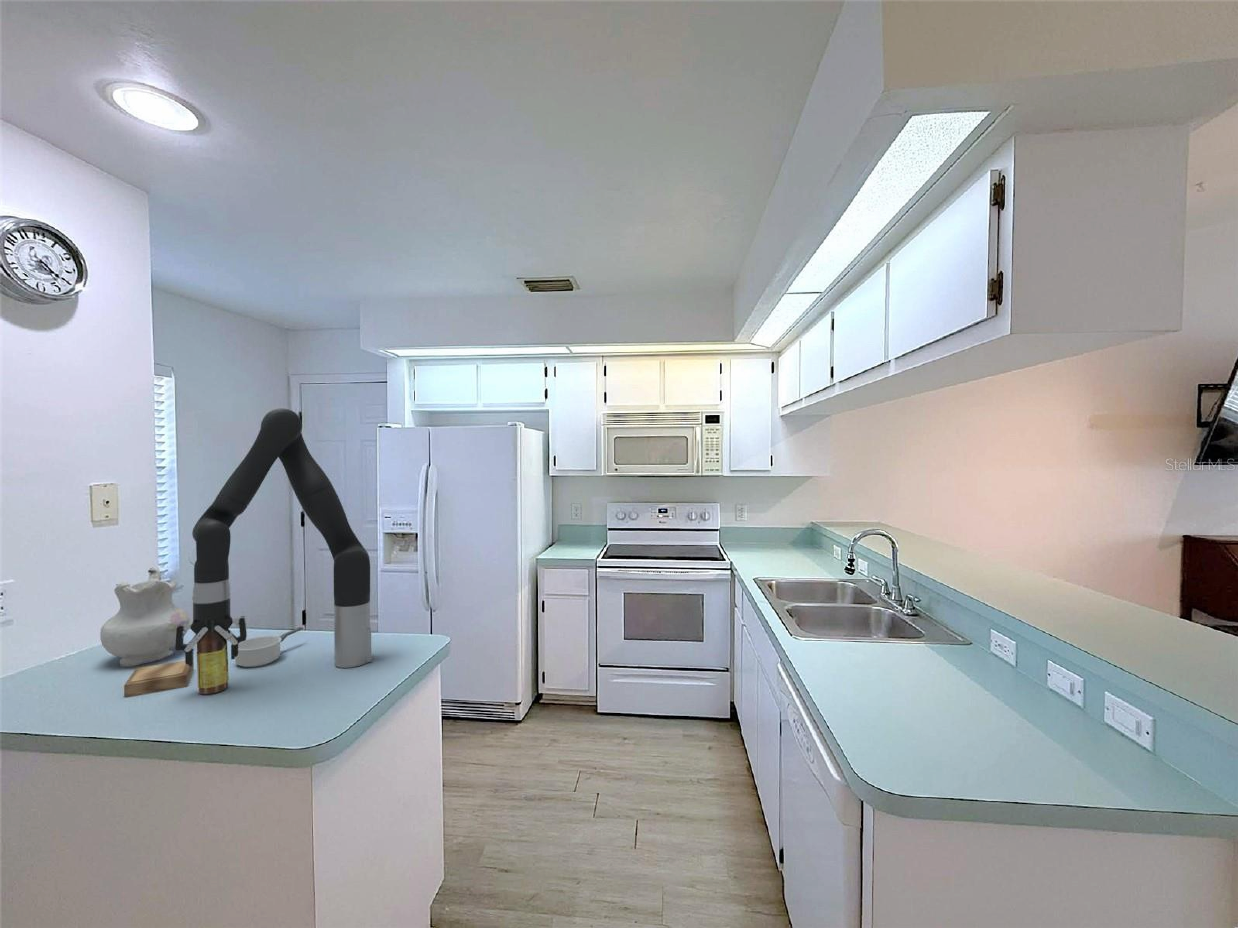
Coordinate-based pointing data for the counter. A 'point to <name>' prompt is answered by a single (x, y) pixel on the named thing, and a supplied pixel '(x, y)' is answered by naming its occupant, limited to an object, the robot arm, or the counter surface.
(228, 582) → the robot arm
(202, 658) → the sauce bottle
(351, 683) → the counter surface
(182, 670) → the walnut base block
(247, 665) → the saucepan
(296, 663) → the counter surface
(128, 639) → the ceramic pitcher
